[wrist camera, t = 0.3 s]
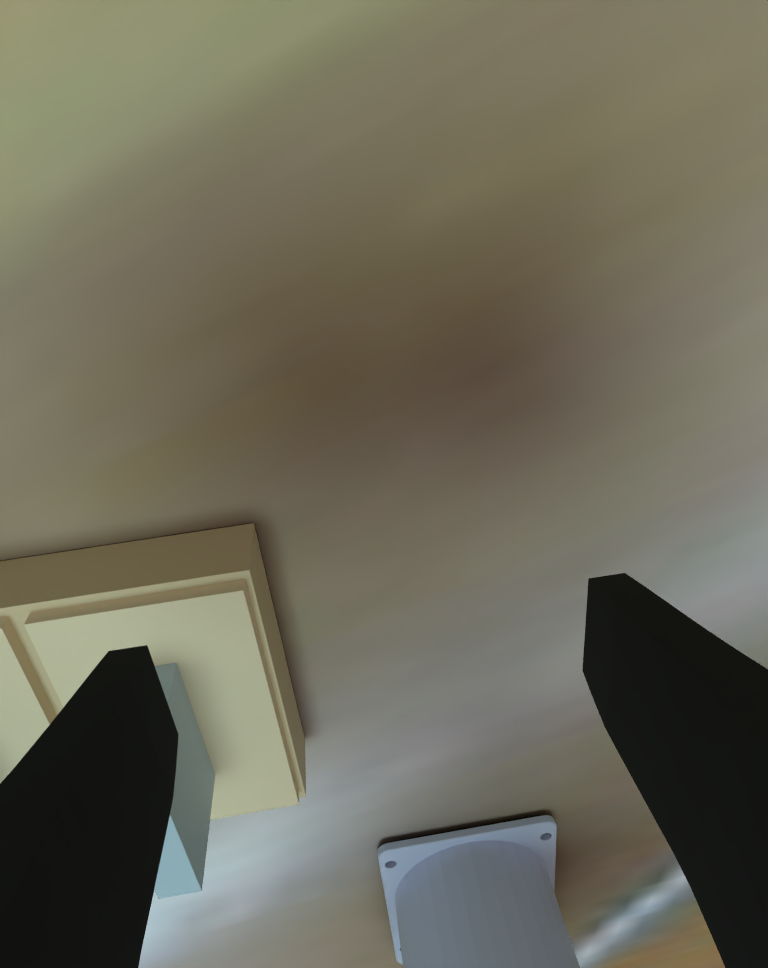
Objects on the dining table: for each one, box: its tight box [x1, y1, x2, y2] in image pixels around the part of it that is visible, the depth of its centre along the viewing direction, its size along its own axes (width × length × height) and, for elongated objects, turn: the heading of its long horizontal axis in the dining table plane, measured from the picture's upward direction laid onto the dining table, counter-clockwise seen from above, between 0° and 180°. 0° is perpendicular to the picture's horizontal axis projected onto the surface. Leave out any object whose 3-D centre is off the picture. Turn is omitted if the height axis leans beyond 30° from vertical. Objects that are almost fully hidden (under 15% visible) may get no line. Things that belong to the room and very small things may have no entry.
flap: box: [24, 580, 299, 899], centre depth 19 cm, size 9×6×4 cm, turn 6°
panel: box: [0, 523, 306, 797], centre depth 22 cm, size 10×13×2 cm
